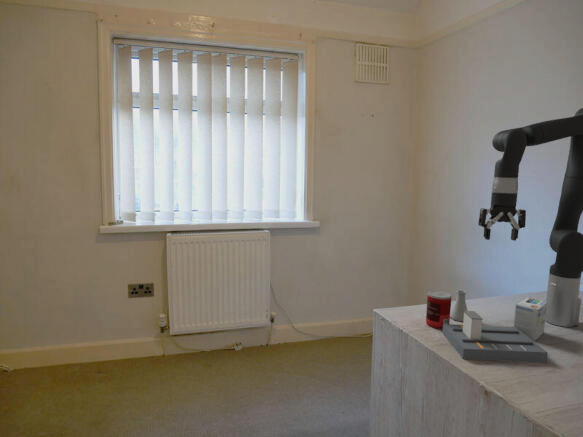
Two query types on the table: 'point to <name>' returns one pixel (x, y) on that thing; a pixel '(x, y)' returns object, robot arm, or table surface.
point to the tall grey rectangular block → (472, 325)
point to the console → (495, 344)
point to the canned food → (438, 309)
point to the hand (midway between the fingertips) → (500, 239)
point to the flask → (459, 307)
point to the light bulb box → (530, 317)
